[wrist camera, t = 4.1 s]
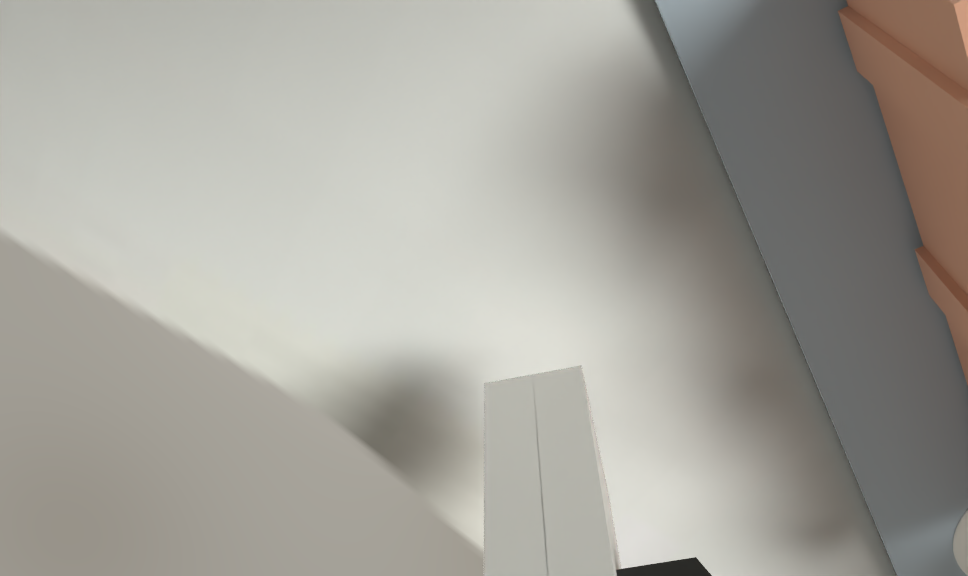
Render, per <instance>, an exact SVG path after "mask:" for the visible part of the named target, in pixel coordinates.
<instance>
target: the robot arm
mask: <svg viewBox="0 0 968 576" xmlns="http://www.w3.org/2000/svg"><path fill="white" fill-rule="evenodd" d="M484 576H711V574H710V573H709V572H708V571H707V570H706V569H705V567H704V566H703V565H702V564H701V563H700V562H699V560H698V559H697V558H696V557H695V558H689V559H682V560H676V561H670V562H663V563H657V564H650V565H644V566H638V567H631V568H625V569H621V564H620V558H619V552H618V546H617V540H616V534H615V528H614V522H613V516H612V510H611V504H610V498H609V494H608V489H607V484H606V479H605V475H604V470H603V465H602V460H601V456H600V451H599V446H598V441H597V437H596V432H595V427H594V422H593V418H592V413H591V408H590V403H589V399H588V394H587V389H586V385H585V380H584V375H583V370H582V366H577V367H571V368H566V369H560V370H555V371H549V372H544V373H538V374H533V375H527V376H522V377H517V378H511V379H506V380H500V381H495V382H489V383H484Z"/></svg>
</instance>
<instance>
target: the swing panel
mask: <svg viewBox="0 0 968 576" xmlns="http://www.w3.org/2000/svg"><path fill="white" fill-rule="evenodd" d="M846 1H847V4H848V6H847V7H845V8H843V9H841V10H839V11H838V13H839V16H840V19H841V23H842V26H843V29H844V32H845V35H846V38H847V41H848V44H849V47H850V50H851V54H852V57H853V60H854V63H855V66H856V69H857V72H859V73H860V74H861V75H862V76H863V77H864V78H865V79H867V80H868V81H869V82H870V83H871V84H872V85H873V87H874V90H875V93H876V96H877V100H878V103H879V106H880V109H881V112H882V115H883V119H884V122H885V125H886V128H887V131H888V134H889V138H890V141H891V144H892V147H893V150H894V153H895V157H896V160H897V163H898V166H899V169H900V173H901V176H902V179H903V182H904V185H905V188H906V192H907V195H908V198H909V201H910V204H911V207H912V211H913V214H914V217H915V220H916V223H917V226H918V230H919V233H920V236H921V239H922V242H923V246H921V247H919V248H917V249H915V253H916V256H917V259H918V262H919V265H920V268H921V271H922V274H923V277H924V281H925V284H926V287H927V290H928V293H929V295H930V297H931V298H932V299H933V300H934V302H935V303H936V304H937V305H938V307H939V308H940V309H941V310H942V311H943V313H944V314H945V315H946V318H947V322H948V325H949V328H950V331H951V334H952V338H953V341H954V344H955V347H956V350H957V353H958V357H959V360H960V363H961V366H962V369H963V372H964V376H965V379H966V382H967V385H968V0H846Z"/></svg>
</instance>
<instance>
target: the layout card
mask: <svg viewBox="0 0 968 576" xmlns="http://www.w3.org/2000/svg"><path fill="white" fill-rule="evenodd" d="M655 3H656V5H657V8H658V10H659V12H660V15H661V17H662V19H663V22H664V24H665V27H666V29H667V31H668V34H669V36H670V38H671V41H672V43H673V46H674V48H675V50H676V53H677V55H678V57H679V60H680V62H681V64H682V67H683V69H684V72H685V74H686V76H687V79H688V81H689V83H690V86H691V88H692V91H693V93H694V95H695V98H696V100H697V102H698V105H699V107H700V110H701V112H702V114H703V117H704V119H705V121H706V124H707V126H708V129H709V131H710V133H711V136H712V138H713V140H714V143H715V145H716V148H717V150H718V152H719V155H720V157H721V159H722V162H723V164H724V167H725V169H726V171H727V174H728V176H729V178H730V181H731V183H732V185H733V188H734V190H735V193H736V195H737V197H738V200H739V202H740V204H741V207H742V209H743V212H744V214H745V216H746V219H747V221H748V223H749V226H750V228H751V231H752V233H753V235H754V238H755V240H756V242H757V245H758V247H759V250H760V252H761V254H762V257H763V259H764V261H765V264H766V266H767V269H768V271H769V273H770V276H771V278H772V280H773V283H774V285H775V288H776V290H777V292H778V295H779V297H780V299H781V302H782V304H783V306H784V309H785V311H786V314H787V316H788V318H789V321H790V323H791V325H792V328H793V330H794V333H795V335H796V337H797V340H798V342H799V344H800V347H801V349H802V352H803V354H804V356H805V359H806V361H807V363H808V366H809V368H810V371H811V373H812V375H813V378H814V380H815V382H816V385H817V387H818V390H819V392H820V394H821V397H822V399H823V401H824V404H825V406H826V409H827V411H828V413H829V416H830V418H831V420H832V423H833V425H834V427H835V430H836V432H837V435H838V437H839V439H840V442H841V444H842V446H843V449H844V451H845V454H846V456H847V458H848V461H849V463H850V465H851V468H852V470H853V473H854V475H855V477H856V480H857V482H858V484H859V487H860V489H861V492H862V494H863V496H864V499H865V501H866V503H867V506H868V508H869V511H870V513H871V515H872V518H873V520H874V522H875V525H876V527H877V530H878V532H879V534H880V537H881V539H882V541H883V544H884V546H885V548H886V551H887V553H888V556H889V558H890V560H891V563H892V565H893V567H894V570H895V572H896V575H897V576H968V385H967V382H966V379H965V376H964V372H963V369H962V366H961V363H960V360H959V357H958V353H957V350H956V347H955V344H954V341H953V338H952V334H951V331H950V328H949V325H948V322H947V318H946V315H945V314H944V313H943V311H942V310H941V309H940V308H939V307H938V305H937V304H936V303H935V302H934V300H933V299H932V298H931V297H930V295H929V293H928V290H927V287H926V284H925V281H924V277H923V274H922V271H921V268H920V265H919V262H918V259H917V256H916V253H915V249H917V248H919V247H921V246H923V242H922V239H921V236H920V233H919V230H918V226H917V223H916V220H915V217H914V214H913V211H912V207H911V204H910V201H909V198H908V195H907V192H906V188H905V185H904V182H903V179H902V176H901V173H900V169H899V166H898V163H897V160H896V157H895V153H894V150H893V147H892V144H891V141H890V138H889V134H888V131H887V128H886V125H885V122H884V119H883V115H882V112H881V109H880V106H879V103H878V100H877V96H876V93H875V90H874V87H873V85H872V84H871V83H870V82H869V81H868V80H867V79H865V78H864V77H863V76H862V75H861V74H860V73H859V72H857V69H856V66H855V63H854V60H853V57H852V54H851V50H850V47H849V44H848V41H847V38H846V35H845V32H844V29H843V26H842V23H841V19H840V16H839V13H838V11H839V10H841V9H843V8H845V7H847V6H848V4H847V1H846V0H655Z"/></svg>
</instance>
